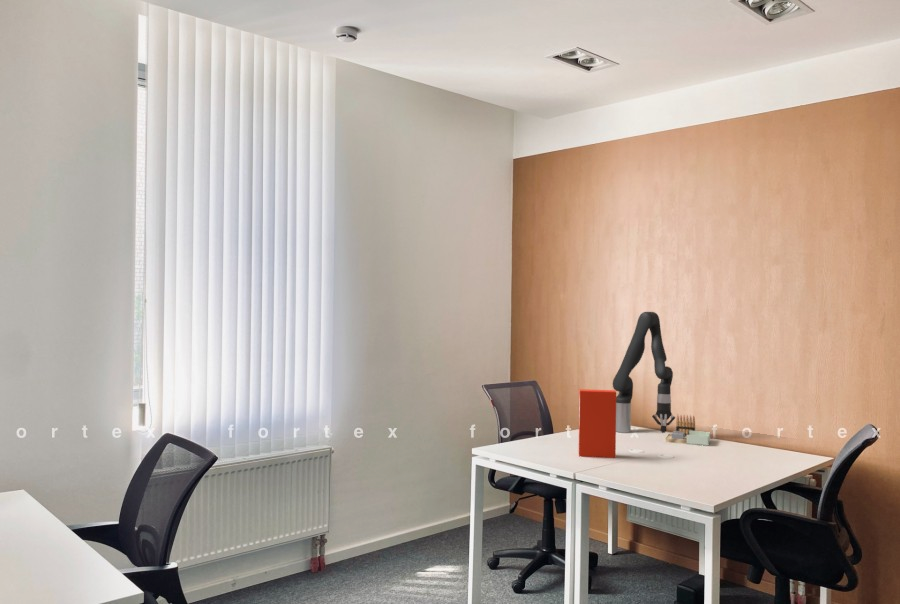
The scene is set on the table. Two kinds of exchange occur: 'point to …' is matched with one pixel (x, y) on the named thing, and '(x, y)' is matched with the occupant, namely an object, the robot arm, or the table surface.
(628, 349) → the robot arm
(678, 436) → the tile
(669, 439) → the bench plate
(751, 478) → the table surface
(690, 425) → the ammunition clip
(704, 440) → the box
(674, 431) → the tile
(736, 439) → the table surface
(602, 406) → the file binder
